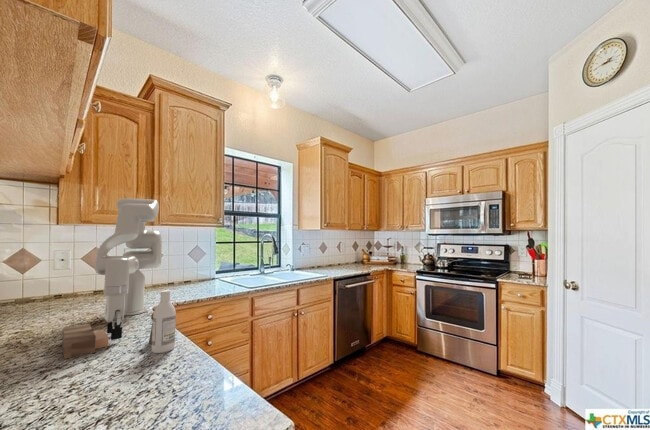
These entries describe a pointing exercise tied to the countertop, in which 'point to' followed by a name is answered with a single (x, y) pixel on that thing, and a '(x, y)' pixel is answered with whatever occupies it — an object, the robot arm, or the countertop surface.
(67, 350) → the shelf
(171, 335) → the bath foam
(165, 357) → the countertop surface
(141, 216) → the robot arm
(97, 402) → the countertop surface
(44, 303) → the countertop surface
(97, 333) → the tile
